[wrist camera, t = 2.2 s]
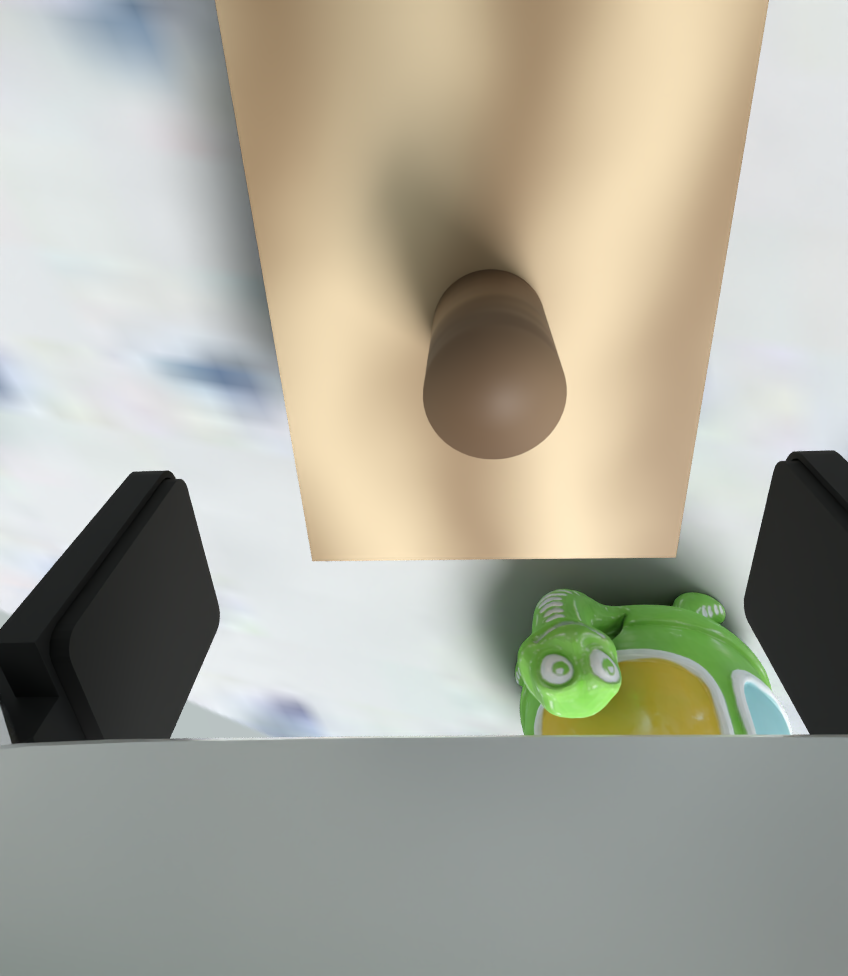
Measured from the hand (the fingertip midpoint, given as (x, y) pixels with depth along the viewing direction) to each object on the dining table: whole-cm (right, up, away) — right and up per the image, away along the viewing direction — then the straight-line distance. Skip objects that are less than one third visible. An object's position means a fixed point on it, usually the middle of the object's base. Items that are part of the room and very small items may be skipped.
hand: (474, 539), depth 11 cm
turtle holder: (+10, -8, +26) cm, 29 cm away
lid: (+1, +6, +9) cm, 11 cm away
